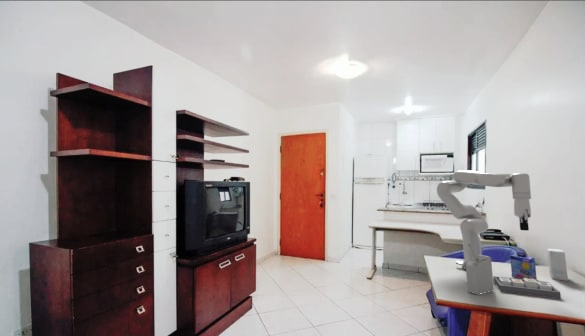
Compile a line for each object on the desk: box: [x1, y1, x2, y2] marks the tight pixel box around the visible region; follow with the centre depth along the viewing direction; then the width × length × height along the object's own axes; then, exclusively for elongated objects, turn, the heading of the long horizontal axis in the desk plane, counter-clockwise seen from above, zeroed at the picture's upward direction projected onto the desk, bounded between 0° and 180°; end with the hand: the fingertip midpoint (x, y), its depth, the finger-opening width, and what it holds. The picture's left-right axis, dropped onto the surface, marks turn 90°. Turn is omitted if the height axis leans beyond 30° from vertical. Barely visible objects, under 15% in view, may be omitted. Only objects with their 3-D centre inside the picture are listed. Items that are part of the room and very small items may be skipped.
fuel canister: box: [465, 244, 494, 295], centre depth 134 cm, size 15×5×25 cm, turn 113°
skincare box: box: [546, 248, 569, 282], centre depth 149 cm, size 8×7×16 cm
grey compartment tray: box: [492, 275, 562, 300], centre depth 134 cm, size 23×14×3 cm, turn 63°
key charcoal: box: [538, 281, 553, 290], centre depth 131 cm, size 4×5×3 cm
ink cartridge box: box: [509, 251, 538, 281], centre depth 150 cm, size 10×6×14 cm, turn 29°
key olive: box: [523, 278, 538, 288], centre depth 133 cm, size 4×5×3 cm
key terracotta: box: [511, 278, 525, 287], centre depth 136 cm, size 4×5×3 cm
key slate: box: [499, 277, 512, 286], centre depth 138 cm, size 4×5×3 cm
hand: (524, 230), depth 141 cm, fingers closed
